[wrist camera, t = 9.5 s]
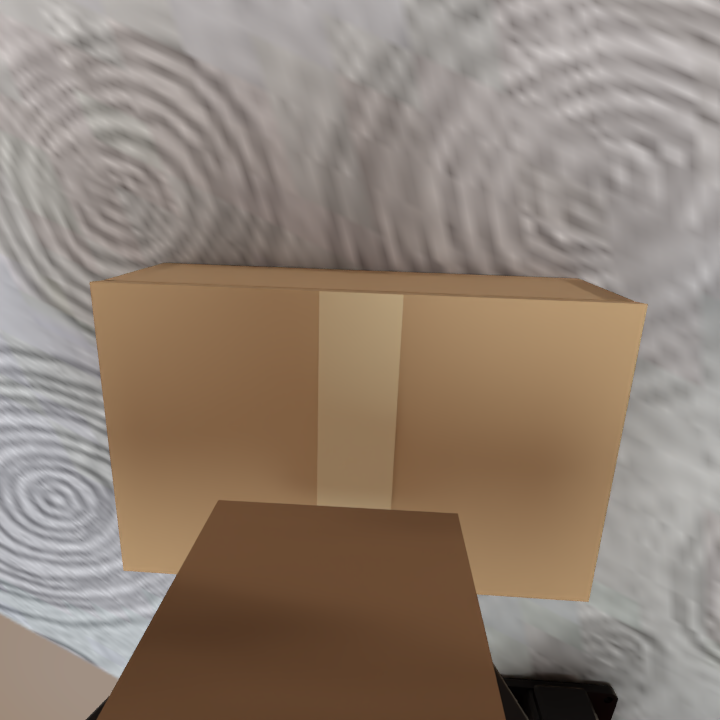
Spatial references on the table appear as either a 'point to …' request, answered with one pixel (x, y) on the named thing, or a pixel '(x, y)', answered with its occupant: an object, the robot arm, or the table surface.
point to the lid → (369, 416)
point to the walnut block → (315, 622)
